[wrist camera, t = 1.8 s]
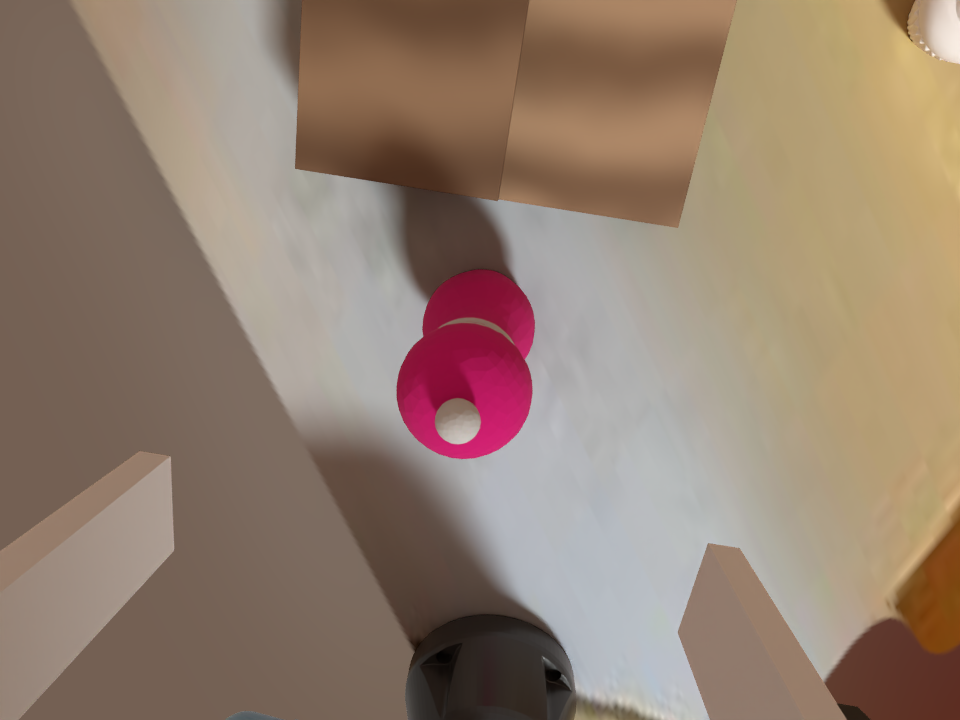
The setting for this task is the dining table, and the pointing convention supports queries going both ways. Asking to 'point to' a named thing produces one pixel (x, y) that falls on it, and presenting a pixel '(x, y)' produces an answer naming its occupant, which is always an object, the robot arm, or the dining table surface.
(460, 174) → the step stand
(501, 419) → the pepper mill
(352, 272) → the dining table surface
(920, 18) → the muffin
